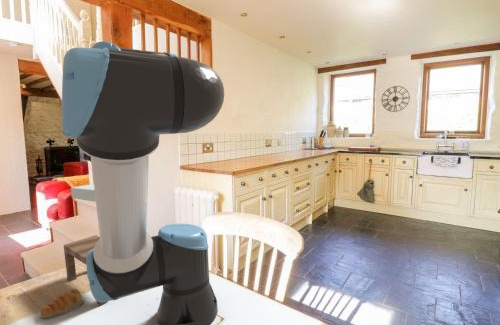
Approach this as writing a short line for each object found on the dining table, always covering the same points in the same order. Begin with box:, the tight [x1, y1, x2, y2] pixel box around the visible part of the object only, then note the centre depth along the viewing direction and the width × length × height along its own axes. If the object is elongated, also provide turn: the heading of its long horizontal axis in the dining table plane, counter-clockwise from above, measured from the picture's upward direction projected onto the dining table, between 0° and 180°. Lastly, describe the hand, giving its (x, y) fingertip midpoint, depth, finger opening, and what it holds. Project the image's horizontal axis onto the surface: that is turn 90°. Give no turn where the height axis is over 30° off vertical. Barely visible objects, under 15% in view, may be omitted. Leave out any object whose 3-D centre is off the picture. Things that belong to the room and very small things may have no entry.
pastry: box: [40, 288, 84, 319], centre depth 74 cm, size 9×7×4 cm
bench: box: [63, 235, 109, 307], centre depth 85 cm, size 24×10×12 cm, turn 52°
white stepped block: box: [70, 183, 96, 203], centre depth 85 cm, size 23×8×14 cm, turn 58°
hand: (115, 181), depth 81 cm, fingers closed on white stepped block, 8 cm apart
